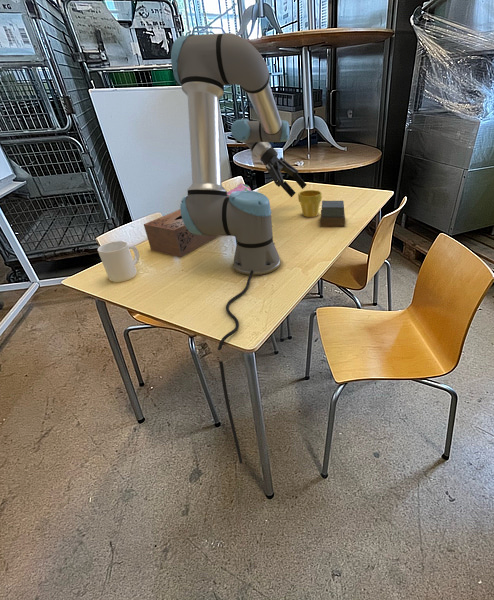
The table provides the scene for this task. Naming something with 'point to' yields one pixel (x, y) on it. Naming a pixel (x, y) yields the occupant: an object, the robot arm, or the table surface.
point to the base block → (332, 221)
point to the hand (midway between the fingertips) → (299, 191)
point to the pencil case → (239, 189)
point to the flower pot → (310, 202)
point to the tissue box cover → (173, 235)
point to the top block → (332, 208)
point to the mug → (119, 260)
